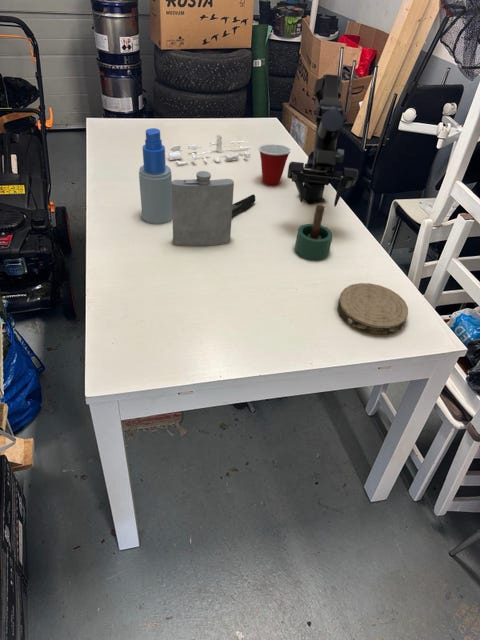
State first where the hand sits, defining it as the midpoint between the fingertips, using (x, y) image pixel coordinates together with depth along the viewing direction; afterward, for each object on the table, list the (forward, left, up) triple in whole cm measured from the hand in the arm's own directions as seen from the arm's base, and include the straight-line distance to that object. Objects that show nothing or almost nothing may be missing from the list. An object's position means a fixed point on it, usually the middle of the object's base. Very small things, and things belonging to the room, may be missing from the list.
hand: (318, 204), depth 126 cm
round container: (+4, +5, -11) cm, 13 cm away
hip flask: (+30, -11, -11) cm, 34 cm away
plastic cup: (-9, -37, -11) cm, 40 cm away
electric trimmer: (+12, -23, -11) cm, 28 cm away
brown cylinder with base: (+4, +5, -11) cm, 12 cm away
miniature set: (+2, -63, -11) cm, 64 cm away
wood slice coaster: (+7, +33, -11) cm, 36 cm away
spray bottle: (+36, -29, -11) cm, 47 cm away
